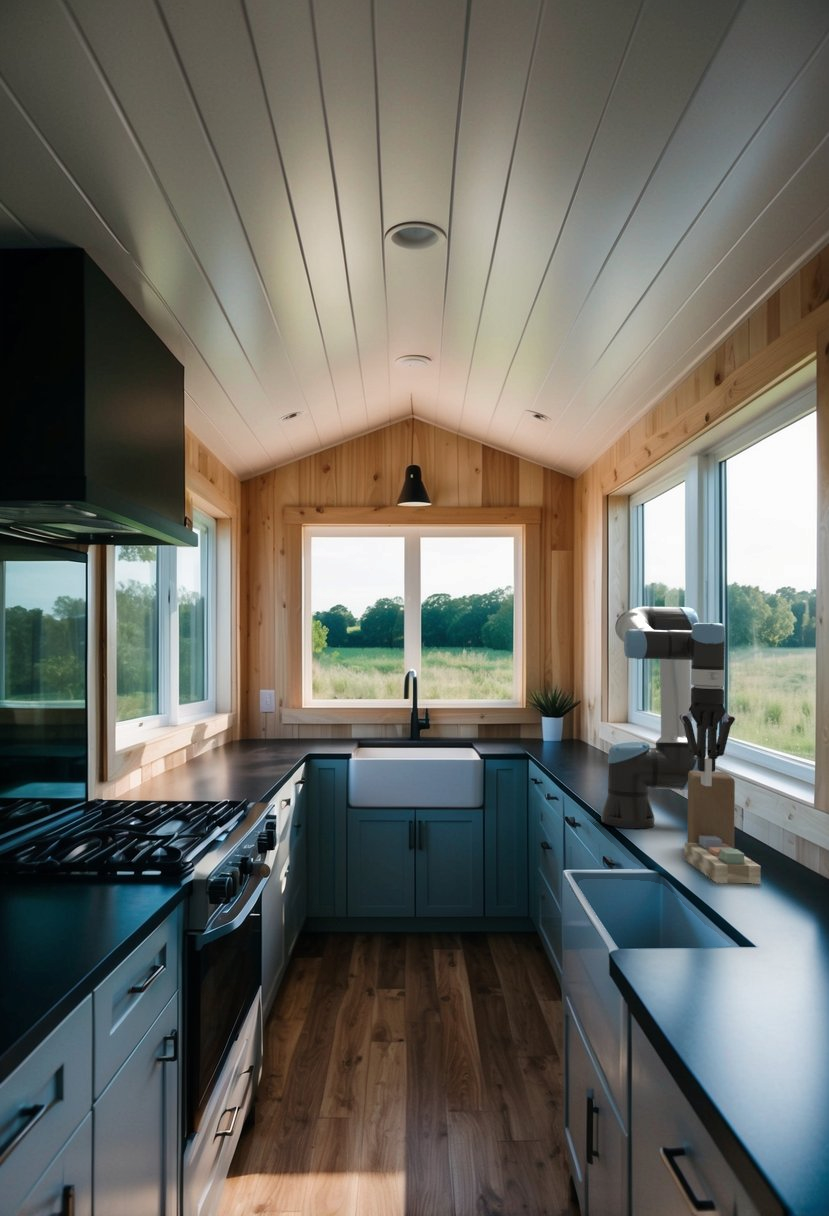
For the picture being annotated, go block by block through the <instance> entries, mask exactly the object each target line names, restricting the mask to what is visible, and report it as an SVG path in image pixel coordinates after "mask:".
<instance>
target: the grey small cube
mask: <svg viewBox="0 0 829 1216" xmlns="http://www.w3.org/2000/svg"><path fill="white" fill-rule="evenodd" d="M699 846H700V847H702V848H703V849H709V847H722V840H721V839H720V838H718V837H716V836H699Z"/></svg>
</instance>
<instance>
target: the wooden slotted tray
mask: <svg viewBox="0 0 829 1216" xmlns="http://www.w3.org/2000/svg"><path fill="white" fill-rule="evenodd" d="M722 847H726V848H727V849H733V848H731V847H730V846H728V845H726V844H725V843H722ZM685 859H686V860H687V861H686V860H685ZM684 860H685V861H686V862H687V863H689V864H690V863H691V864H692V865H691V864H690V865H691V866H693V865H694V866H695V867H696V868H695V867H694V866H693V867H694V868H695V869H697V870H698V869H699V870H700V871H701V872H700V871H699V870H698V871H699V872H700V873H702V872H703V873H704V874H705V876H706V875H707V876H708V877H709V878H708V877H707V876H706V877H707V878H708V879H710V878H711V879H712V880H713V881H715V882H716V883H715V882H714V883H715V884H719V883H718V882H721V883H720V884H724V883H752V884H751V885H761V876H762V874H761V868H762V867H761V865H760V864H758V863H757V862H755V861H753V860H752V859H751V858H749V857H747V856H746V855H744V864H725V863H723V862H722V861H721V860H719V856H713V855H712V854H710V853H709V849H703V848H702V847H700V846H699V843H687V842H684ZM703 873H702V874H703ZM704 874H703V875H704ZM711 879H710V880H711ZM712 880H711V881H712ZM713 881H712V882H713ZM753 883H754V884H753Z"/></svg>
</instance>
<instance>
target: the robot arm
mask: <svg viewBox="0 0 829 1216" xmlns="http://www.w3.org/2000/svg"><path fill="white" fill-rule="evenodd" d="M725 631H726V630H725V625H724V624H723V623H714V622H713V623H712V622H711V623H710V622H708V623H707V622H700V619H699V616H698V614H697V611H696V610H695V609H693V608H691V607H686V606H685V607H684V606H637V607H634V608H633V607H632V608H631V609H628V610H626V611H624V612H623V613H622V614H620V615H619V617H618V618H617V620H616V621H615V632H616V635H617V637H618V638H619V640H621V641H622V642H623V651H624V656H625V658H628V659H635V660H643V659H644V660H659V673H660V674H659V679H660V680H659V682H660V684H659V685H660V692H659V693H660V737H659V738H658V739H657V740H656V741H655V747H650V744H649V743H648V742H644V741H643V742H642V741H632V742H630V741H629V742H624V743H623V742H621V743H617V744H614V745H612V746H610V747H609V749H608V757H607V763H608V766H607V767H608V768H607V773H608V774H607V796H606V799H605V802H604V805H603V808H602V811H601V815H600V816H601V817H600V819H601V822H602V823H603V824H606V825H609V826H612V827H616V828H622V827H623V828H622V829H635V828H640V829H647V828H653V827H654V826H655V823H656V821H655V820H656V819H655V815H654V811H653V807H652V805H651V800H650V797H649V793H650V790H649V789H660V790H661V789H662V790H679V791H688V773H689V771H692V770H696V771H701V784H702V785H704V786H712V772H716V761H717V759H718V757H723V756H724V754H725V751H726V746H727V743H728V739H729V734H730V731H731V727H732V725H733V724H734V722H735V721H736V718H735V717H734V716H732V715H730V714H728V713H727V712H726V709H725V707H724V704H725V689H724V688H722V687H724V686H725V659H726V658H725V653H726V652H725V651H726V650H725V649H726V647H725V645H726V639H727V638H726V633H725ZM691 685H692V686H691ZM693 720H694V722H695V723H696V724H695V725H696V730H697V731H696V736H695V731H694V727H693V723H692V721H693ZM721 720H722V722H721V725H720V729H719V733H718V732H717V731H718V728H719V727H718V726H719V725H718V724H719V723H720V721H721ZM717 734H718V735H717ZM706 753H707V754H706Z"/></svg>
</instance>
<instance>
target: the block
mask: <svg viewBox="0 0 829 1216" xmlns="http://www.w3.org/2000/svg"><path fill="white" fill-rule="evenodd" d="M735 783H736V781H735V779H734V777H733V776H731V775H730V774H729V773H728V772H726V771H715V772H712V786H704V785H702V784H701V771H696V770H692V771H689V773H688V790H687V838H686V839H687V842H686V843H699V836H716V837H718V838H720V839H721V840H722V843H725V844H726V845H728V846H730V847H731V848H733V849H735V808H736V807H735V799H736V798H735V797H736V796H735V793H736V792H735V790H736V789H735V788H736V786H735V785H736V784H735Z"/></svg>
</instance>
